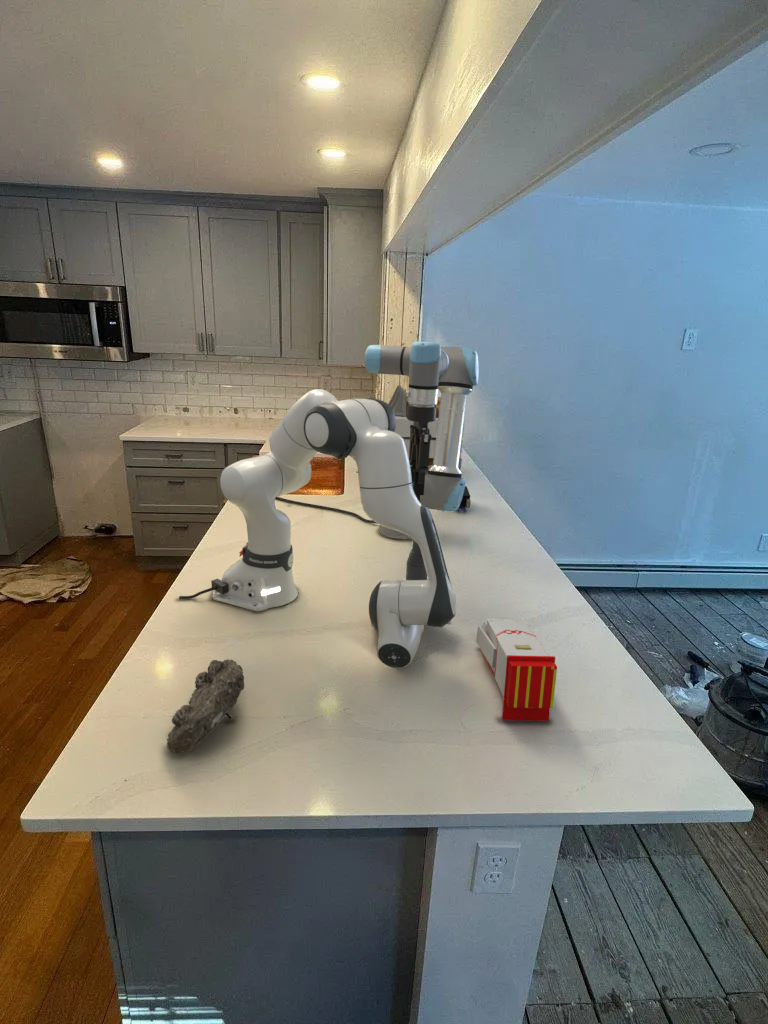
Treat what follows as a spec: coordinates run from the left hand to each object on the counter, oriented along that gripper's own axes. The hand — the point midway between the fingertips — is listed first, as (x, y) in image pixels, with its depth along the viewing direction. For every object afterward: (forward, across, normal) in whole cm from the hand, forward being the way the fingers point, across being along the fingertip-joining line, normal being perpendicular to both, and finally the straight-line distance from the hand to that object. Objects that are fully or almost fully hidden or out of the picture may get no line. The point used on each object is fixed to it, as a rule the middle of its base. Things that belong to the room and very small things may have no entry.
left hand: (415, 592), depth 146 cm
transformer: (+134, +18, +6) cm, 135 cm away
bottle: (-1, 0, +6) cm, 6 cm away
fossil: (-49, +31, +6) cm, 59 cm away
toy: (-22, -24, +6) cm, 33 cm away
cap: (+15, +4, -24) cm, 29 cm away
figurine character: (+89, -5, +6) cm, 89 cm away
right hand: (+15, +4, -22) cm, 27 cm away
